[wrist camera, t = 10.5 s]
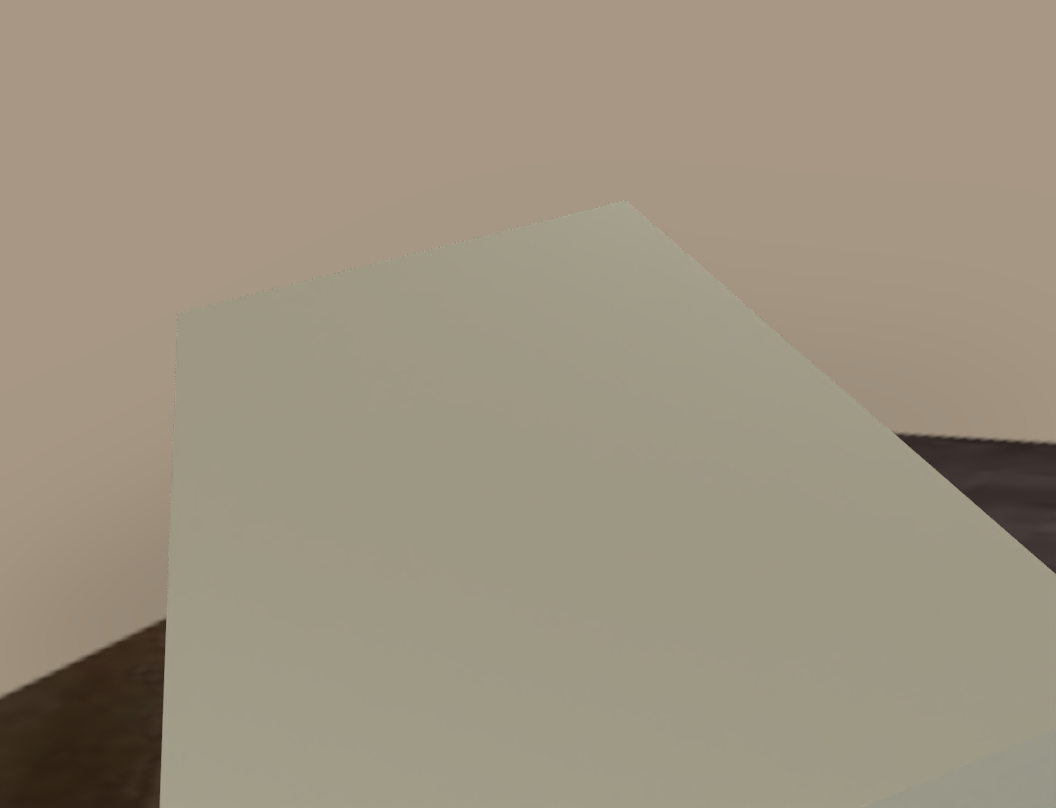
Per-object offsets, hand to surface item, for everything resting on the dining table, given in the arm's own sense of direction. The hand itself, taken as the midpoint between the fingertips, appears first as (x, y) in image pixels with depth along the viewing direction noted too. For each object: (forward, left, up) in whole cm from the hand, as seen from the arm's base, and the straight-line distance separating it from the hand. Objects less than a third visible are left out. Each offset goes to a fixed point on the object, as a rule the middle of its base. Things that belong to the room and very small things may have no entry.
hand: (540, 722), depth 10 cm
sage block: (0, +1, -7) cm, 7 cm away
